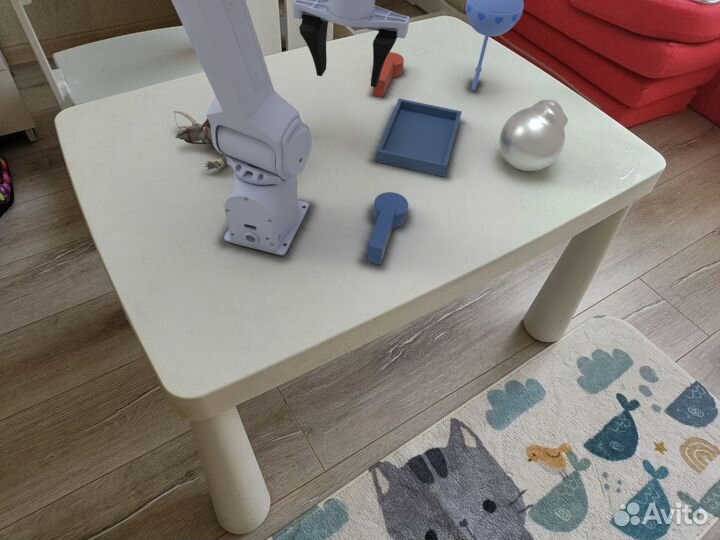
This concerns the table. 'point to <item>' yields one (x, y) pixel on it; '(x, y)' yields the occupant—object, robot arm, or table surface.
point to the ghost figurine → (534, 136)
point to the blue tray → (419, 137)
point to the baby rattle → (492, 21)
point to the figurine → (199, 138)
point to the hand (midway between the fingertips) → (348, 77)
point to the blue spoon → (385, 223)
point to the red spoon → (389, 73)
